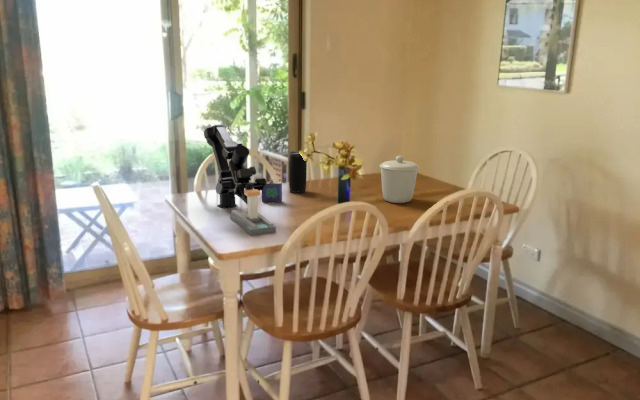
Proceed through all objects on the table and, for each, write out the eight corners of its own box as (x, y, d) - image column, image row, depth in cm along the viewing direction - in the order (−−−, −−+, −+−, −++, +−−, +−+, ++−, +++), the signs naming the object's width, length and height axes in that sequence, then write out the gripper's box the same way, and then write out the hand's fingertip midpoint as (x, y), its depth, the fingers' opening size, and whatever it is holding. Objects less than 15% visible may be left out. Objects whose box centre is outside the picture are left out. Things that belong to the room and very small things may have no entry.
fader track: (229, 218, 220) (229, 210, 219) (252, 215, 225) (252, 207, 224) (250, 235, 200) (250, 226, 199) (275, 231, 204) (275, 223, 203)
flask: (282, 201, 248) (281, 178, 245) (282, 202, 245) (282, 179, 242) (261, 201, 247) (261, 178, 244) (261, 203, 244) (261, 179, 241)
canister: (416, 207, 241) (419, 160, 235) (376, 204, 244) (377, 158, 239) (417, 197, 258) (420, 153, 252) (379, 194, 261) (381, 151, 256)
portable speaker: (306, 189, 269) (306, 150, 264) (306, 194, 260) (306, 154, 255) (289, 189, 269) (289, 150, 264) (288, 194, 260) (288, 153, 255)
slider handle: (244, 219, 212) (243, 190, 209) (256, 217, 214) (255, 188, 211) (248, 222, 208) (248, 192, 205) (261, 221, 210) (260, 191, 207)
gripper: (219, 161, 209) (230, 195, 203) (264, 158, 218) (275, 190, 211) (214, 177, 218) (224, 210, 211) (258, 173, 226) (268, 205, 220)
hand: (248, 204), depth 213 cm, fingers closed
